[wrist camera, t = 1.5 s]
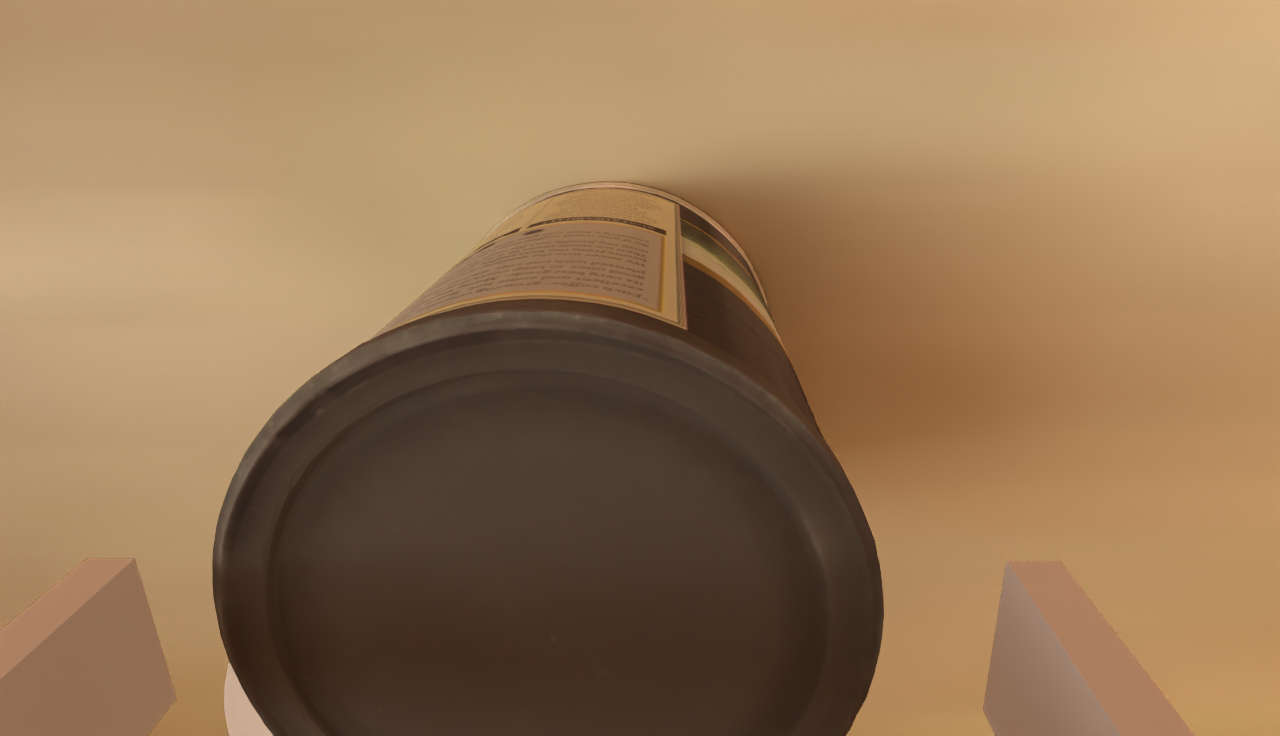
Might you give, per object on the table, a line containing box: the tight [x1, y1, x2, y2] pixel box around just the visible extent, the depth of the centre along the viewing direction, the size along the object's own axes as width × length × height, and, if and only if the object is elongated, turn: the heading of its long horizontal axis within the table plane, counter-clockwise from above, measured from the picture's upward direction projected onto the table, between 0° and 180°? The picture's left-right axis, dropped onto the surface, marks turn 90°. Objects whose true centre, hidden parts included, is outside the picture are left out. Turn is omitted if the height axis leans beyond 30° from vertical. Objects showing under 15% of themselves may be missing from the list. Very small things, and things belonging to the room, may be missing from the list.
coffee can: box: [213, 182, 884, 736], centre depth 19 cm, size 10×10×14 cm
